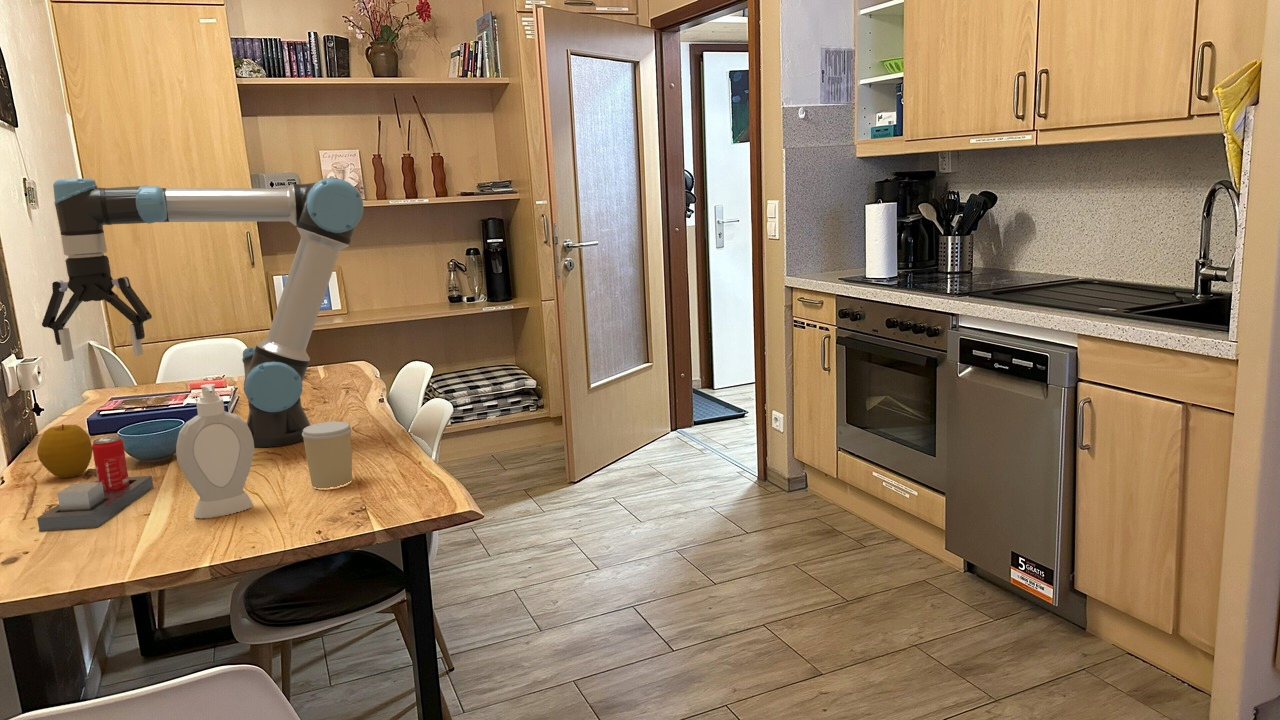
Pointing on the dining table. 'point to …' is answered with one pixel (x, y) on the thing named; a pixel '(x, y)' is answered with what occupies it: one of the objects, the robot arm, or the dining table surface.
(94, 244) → the robot arm
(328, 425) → the coffee cup
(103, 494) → the grey flat frame
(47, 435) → the apple
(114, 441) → the beverage can
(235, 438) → the soap bottle
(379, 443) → the dining table surface
